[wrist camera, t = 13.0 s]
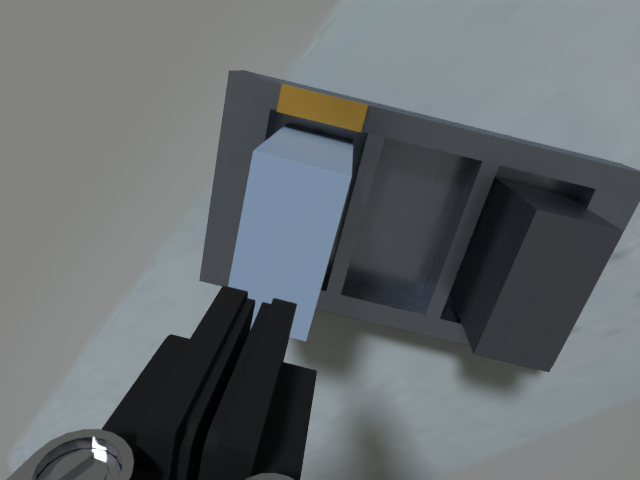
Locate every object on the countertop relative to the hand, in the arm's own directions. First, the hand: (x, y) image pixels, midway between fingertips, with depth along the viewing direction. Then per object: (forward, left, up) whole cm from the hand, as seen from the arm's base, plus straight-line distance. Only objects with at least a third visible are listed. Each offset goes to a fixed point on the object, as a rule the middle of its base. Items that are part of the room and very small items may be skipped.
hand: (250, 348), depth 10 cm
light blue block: (+1, 0, -15) cm, 15 cm away
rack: (+1, +5, -16) cm, 17 cm away
